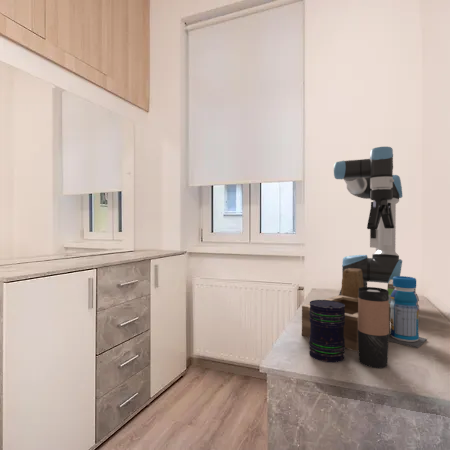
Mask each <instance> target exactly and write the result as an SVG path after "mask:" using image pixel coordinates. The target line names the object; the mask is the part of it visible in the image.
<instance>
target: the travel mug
mask: <svg viewBox="0 0 450 450" xmlns="http://www.w3.org/2000/svg"><path fill="white" fill-rule="evenodd" d="M358 290H359V296H358V362H359V363H360V364H361V365H363V366H366V367H369V368H373V369H385V368H386V367H387V368H388V364H389V361H388V359H389V342H390V341H389V334H390V332H389V292H388V290H387V289H385V288H381V287H373V286H372V287H371V286H367V287H361V288H359V289H358Z"/></svg>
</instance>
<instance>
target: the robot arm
mask: <svg viewBox="0 0 450 450" xmlns="http://www.w3.org/2000/svg"><path fill="white" fill-rule="evenodd" d="M393 171H394V150H393V147H392V146H379V147H374V148H372V149H371V150H370V156H369V158H364V159H363V158H362V159H351V160H350V159H349V160H341V161H336V162H335V163H334V164H333V176H334V177H333V178H335V179H336V180H343V181H344V182H345V184H346V189H347V191H348V192H349V193H350V194H351V195H353V196H354V197H357V198H360V199H368V200H370V201H371V202H370V211H369V215H368V221H367V225H366V229H367V230H369V248H375V251H374V252H373V253H372V255H371V256H372V257H369V256H368V255H367V254H357V255H349V256H344V257H343V258H342V263H341V264H342V266H341V267H342V268H341V269H342V277H343V271H344V270H345V269H348V268H357V269H361V270H362V274H363V287H368V283H369V282H370V283H379V284H381V283H382V284H387V285H388V283H389V281H390V280H393V277H395V276H401V272H402V267H403V260H402V259H400V255H399V254H398V253H397V252H396V233H397V232H396V227H397V226H396V221H397V220H396V219H397V218H396V215H397V214H396V211H397V210H396V209H397V207H396V206H397V204H398V203H399V202H400V199H402V198H403V189H402V188H403V187H402V181H401V177H400V176H399V175H397V174H394V173H393ZM338 295H341V289H340V291H339V293H338Z"/></svg>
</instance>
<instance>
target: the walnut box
mask: <svg viewBox="0 0 450 450" xmlns="http://www.w3.org/2000/svg"><path fill="white" fill-rule="evenodd" d="M323 300H331V301H337V302H341V303H343V304H344V305H345V309H344V310H345V325H344V339H345V349H347V350H351V351H355V352H359V350H358V298H355V297H349V296H343V295H339V294H338V295H335V296H332V297H328V298H325V299H323ZM309 311H310V303H307V304H304V305H302V306H301V336H304V337H305V338H306V337H307V338H309V337H310V319H309V318H310V315H309ZM390 332H391V320H390V303H389V333H390Z"/></svg>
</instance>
